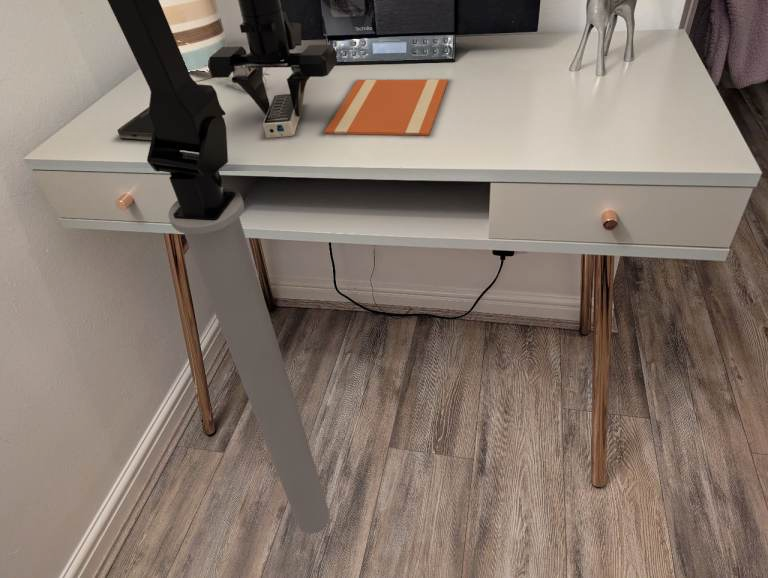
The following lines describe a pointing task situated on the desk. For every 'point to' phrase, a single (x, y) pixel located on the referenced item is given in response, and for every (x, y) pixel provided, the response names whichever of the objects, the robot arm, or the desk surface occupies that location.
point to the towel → (389, 107)
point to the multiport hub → (280, 117)
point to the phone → (138, 127)
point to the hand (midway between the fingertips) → (283, 115)
